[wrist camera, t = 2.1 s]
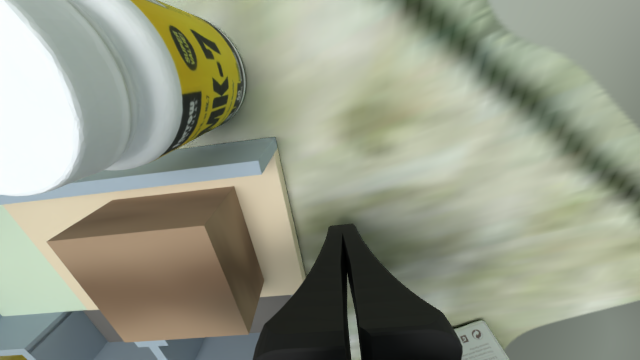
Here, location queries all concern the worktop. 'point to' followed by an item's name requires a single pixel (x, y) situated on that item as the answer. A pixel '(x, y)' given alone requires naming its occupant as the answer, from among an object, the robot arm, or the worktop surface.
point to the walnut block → (167, 265)
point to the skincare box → (479, 342)
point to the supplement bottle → (105, 87)
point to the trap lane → (150, 179)
